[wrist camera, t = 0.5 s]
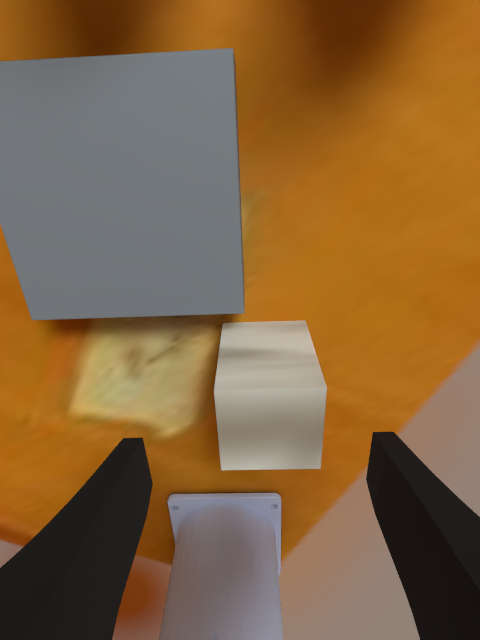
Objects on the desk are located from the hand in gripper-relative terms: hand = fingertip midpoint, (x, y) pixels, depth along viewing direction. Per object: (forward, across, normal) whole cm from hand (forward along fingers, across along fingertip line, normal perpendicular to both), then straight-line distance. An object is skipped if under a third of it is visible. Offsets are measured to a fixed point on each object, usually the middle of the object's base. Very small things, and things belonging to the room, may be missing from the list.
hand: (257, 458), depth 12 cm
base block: (+10, +5, -7) cm, 13 cm away
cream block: (+10, -1, +2) cm, 10 cm away
